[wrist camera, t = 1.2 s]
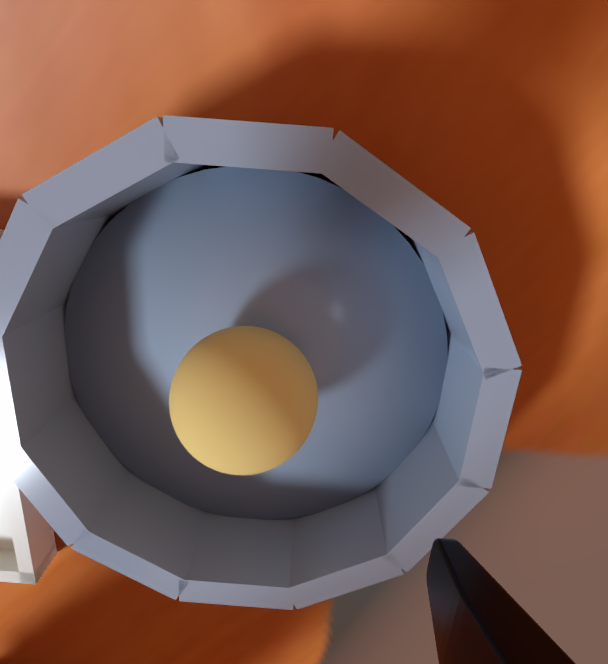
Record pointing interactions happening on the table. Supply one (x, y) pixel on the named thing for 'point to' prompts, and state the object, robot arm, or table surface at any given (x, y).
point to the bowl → (260, 311)
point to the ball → (243, 400)
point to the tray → (22, 534)
